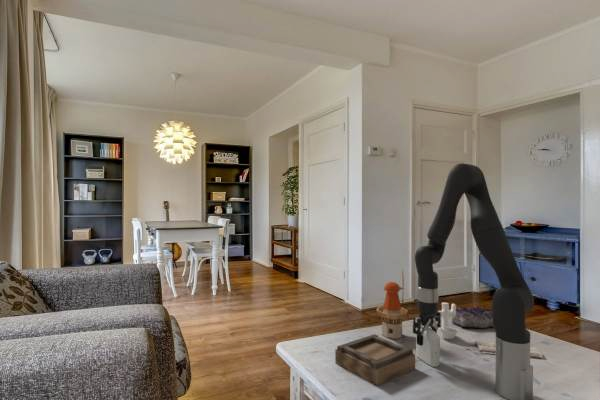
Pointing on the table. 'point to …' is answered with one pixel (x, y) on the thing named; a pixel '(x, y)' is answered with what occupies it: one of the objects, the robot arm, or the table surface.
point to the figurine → (447, 322)
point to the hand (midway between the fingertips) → (426, 342)
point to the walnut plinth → (376, 355)
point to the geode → (473, 317)
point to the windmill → (392, 311)
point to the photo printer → (429, 348)
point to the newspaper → (492, 348)
